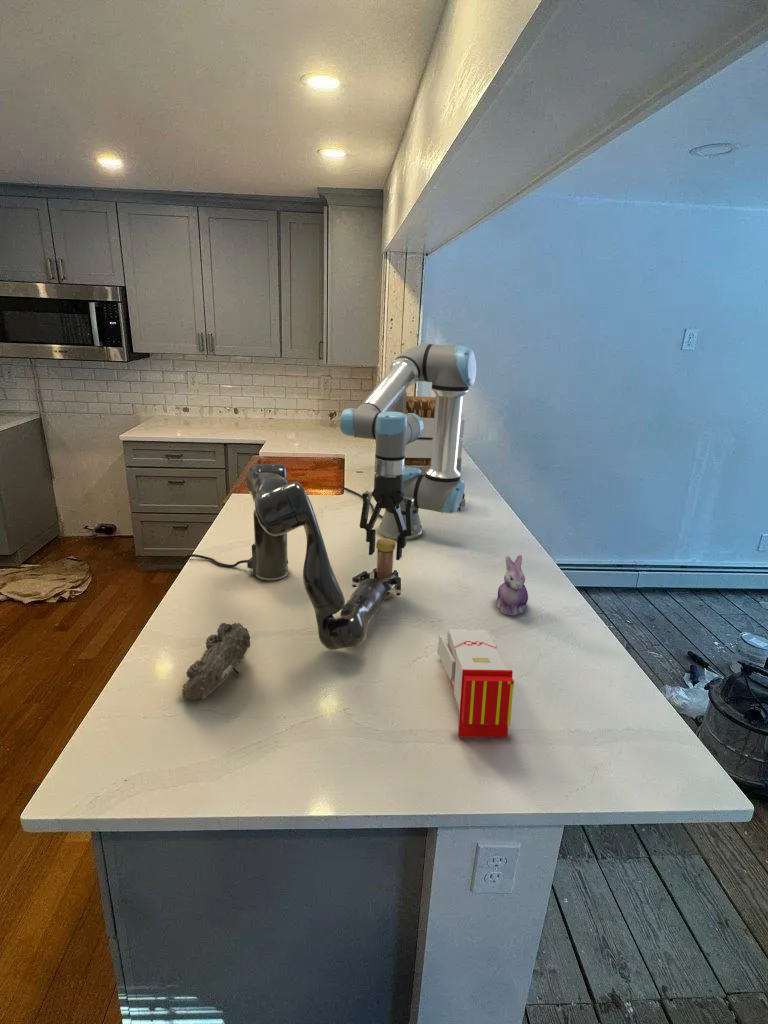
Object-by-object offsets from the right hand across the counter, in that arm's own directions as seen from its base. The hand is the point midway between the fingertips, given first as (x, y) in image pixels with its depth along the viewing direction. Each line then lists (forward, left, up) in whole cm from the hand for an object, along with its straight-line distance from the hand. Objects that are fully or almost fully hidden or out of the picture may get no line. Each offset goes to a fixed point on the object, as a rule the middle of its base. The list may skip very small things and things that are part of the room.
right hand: (385, 555), depth 153 cm
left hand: (-1, +2, -6) cm, 7 cm away
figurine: (+26, +23, -12) cm, 37 cm away
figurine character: (-40, +72, -12) cm, 84 cm away
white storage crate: (-84, +95, -12) cm, 127 cm away
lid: (0, 0, +4) cm, 4 cm away
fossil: (+6, -51, -12) cm, 52 cm away
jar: (0, 0, -12) cm, 12 cm away
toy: (+43, -13, -12) cm, 46 cm away
